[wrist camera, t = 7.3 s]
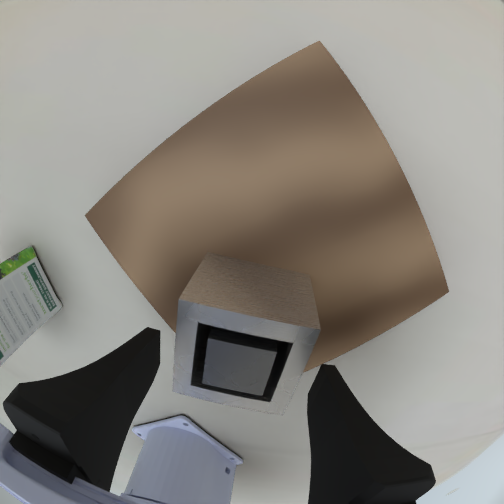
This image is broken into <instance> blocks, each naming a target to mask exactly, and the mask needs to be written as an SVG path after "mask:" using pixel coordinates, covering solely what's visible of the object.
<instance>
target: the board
mask: <svg viewBox="0 0 504 504" xmlns="http://www.w3.org/2000/svg"><path fill="white" fill-rule="evenodd" d="M85 217H86V218H87V220H88V221H89V222H90V224H91V225H92V227H93V228H94V230H95V231H96V233H97V234H98V236H99V237H100V238H101V240H102V241H103V243H104V244H105V246H106V247H107V248H108V250H109V251H110V252H111V254H112V255H113V257H114V258H115V259H116V261H117V262H118V263H119V265H120V266H121V267H122V269H123V270H124V271H125V273H126V274H127V275H128V276H129V278H130V279H131V280H132V282H133V283H134V284H135V285H136V287H137V288H138V289H139V290H140V292H141V293H142V294H143V295H144V297H145V298H146V299H147V300H148V301H149V303H150V304H151V305H152V306H153V308H154V309H155V310H156V311H157V312H158V313H159V315H160V316H161V317H162V318H163V319H164V320H165V322H166V323H167V324H168V325H169V326H170V327H171V329H172V330H173V331H174V332H175V333H176V324H177V312H178V301H179V298H180V296H181V294H182V293H183V291H184V289H185V288H186V286H187V284H188V283H189V281H190V280H191V278H192V276H193V275H194V273H195V272H196V270H197V268H198V267H199V265H200V264H201V262H202V260H203V259H204V257H205V256H206V254H207V252H209V253H214V254H218V255H223V256H227V257H232V258H236V259H241V260H245V261H249V262H254V263H258V264H263V265H267V266H272V267H277V268H281V269H286V270H290V271H295V272H299V273H304V274H309V275H310V279H311V284H312V288H313V293H314V298H315V303H316V308H317V313H318V318H319V323H320V328H321V331H320V333H319V336H318V338H317V340H316V343H315V345H314V348H313V350H312V352H311V355H310V357H309V360H308V362H307V364H306V366H305V369H304V371H303V372H306V371H308V370H310V369H312V368H315V367H317V366H319V365H321V364H323V363H325V362H328V361H330V360H332V359H334V358H336V357H338V356H340V355H342V354H344V353H346V352H348V351H350V350H352V349H354V348H356V347H358V346H360V345H362V344H363V343H365V342H367V341H369V340H371V339H373V338H375V337H376V336H378V335H380V334H382V333H384V332H385V331H387V330H389V329H391V328H392V327H394V326H396V325H398V324H399V323H401V322H403V321H404V320H406V319H408V318H409V317H411V316H413V315H414V314H416V313H417V312H419V311H421V310H422V309H424V308H425V307H427V306H428V305H430V304H431V303H433V302H435V301H436V300H438V299H439V298H441V297H442V296H444V295H445V294H446V293H448V292H449V290H448V286H447V283H446V279H445V276H444V273H443V270H442V267H441V264H440V261H439V258H438V255H437V252H436V249H435V246H434V243H433V241H432V238H431V235H430V233H429V230H428V228H427V225H426V222H425V220H424V218H423V215H422V213H421V210H420V208H419V206H418V203H417V201H416V199H415V196H414V194H413V192H412V190H411V188H410V185H409V183H408V181H407V179H406V177H405V175H404V173H403V171H402V169H401V167H400V165H399V163H398V161H397V159H396V157H395V155H394V153H393V151H392V149H391V148H390V146H389V144H388V142H387V140H386V138H385V137H384V135H383V133H382V131H381V130H380V128H379V126H378V125H377V123H376V121H375V119H374V118H373V116H372V114H371V113H370V111H369V110H368V108H367V106H366V105H365V103H364V102H363V100H362V99H361V97H360V96H359V94H358V92H357V91H356V89H355V88H354V87H353V85H352V84H351V82H350V81H349V79H348V78H347V76H346V75H345V74H344V72H343V71H342V69H341V68H340V67H339V65H338V64H337V63H336V61H335V60H334V59H333V57H332V56H331V55H330V53H329V52H328V51H327V49H326V48H325V47H324V46H323V44H322V43H321V42H320V41H318V42H316V43H314V44H312V45H310V46H308V47H306V48H304V49H302V50H300V51H298V52H296V53H295V54H293V55H291V56H289V57H287V58H285V59H284V60H282V61H280V62H278V63H277V64H275V65H273V66H271V67H270V68H268V69H266V70H265V71H263V72H261V73H260V74H258V75H256V76H255V77H253V78H252V79H250V80H248V81H247V82H245V83H244V84H242V85H241V86H239V87H238V88H236V89H234V90H233V91H231V92H230V93H228V94H227V95H226V96H224V97H223V98H221V99H220V100H218V101H217V102H215V103H214V104H213V105H211V106H210V107H208V108H207V109H206V110H204V111H203V112H201V113H200V114H199V115H197V116H196V117H195V118H193V119H192V120H191V121H189V122H188V123H187V124H185V125H184V126H183V127H182V128H180V129H179V130H178V131H176V132H175V133H174V134H173V135H171V136H170V137H169V138H168V139H166V140H165V141H164V142H163V143H162V144H160V145H159V146H158V147H157V148H156V149H154V150H153V151H152V152H151V153H150V154H149V155H147V156H146V157H145V158H144V159H143V160H142V161H141V162H139V163H138V164H137V165H136V166H135V167H134V168H133V169H132V170H131V171H129V172H128V173H127V174H126V175H125V176H124V177H123V178H122V179H121V180H120V181H119V182H118V183H117V184H116V185H114V186H113V187H112V188H111V189H110V190H109V191H108V192H107V193H106V194H105V195H104V196H103V197H102V198H101V199H100V200H99V201H98V202H97V203H96V204H95V205H94V206H93V207H92V208H91V209H90V210H89V212H88V213H87V214H86V215H85Z"/></svg>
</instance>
